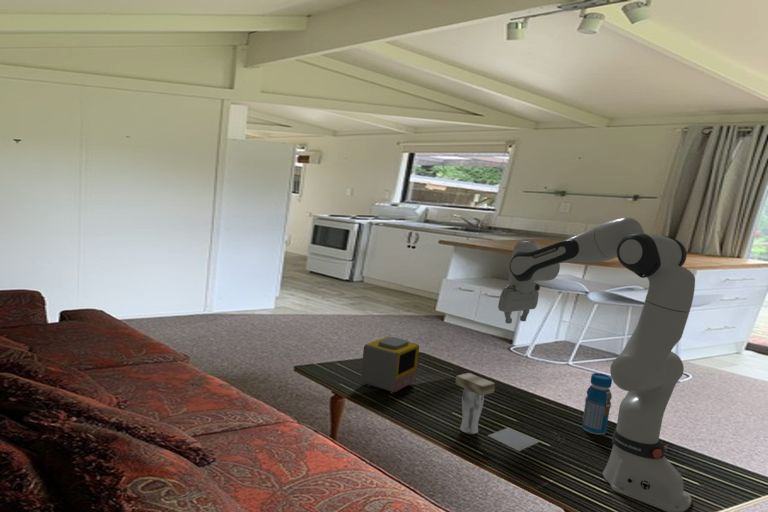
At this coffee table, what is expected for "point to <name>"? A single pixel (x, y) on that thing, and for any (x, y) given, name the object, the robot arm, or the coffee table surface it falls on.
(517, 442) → the grey mat
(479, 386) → the birch lid
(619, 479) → the robot arm
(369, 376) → the alarm clock
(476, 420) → the beer glass
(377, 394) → the coffee table surface
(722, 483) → the coffee table surface
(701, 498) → the coffee table surface
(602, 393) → the beverage bottle
